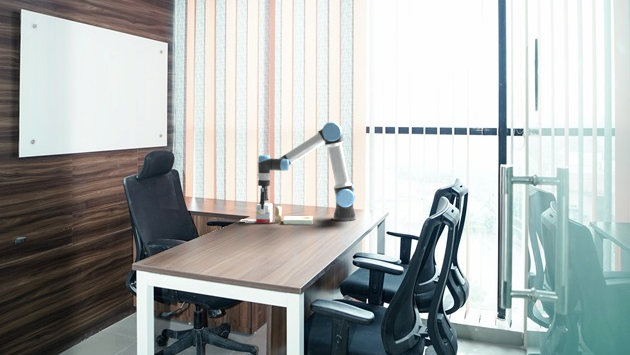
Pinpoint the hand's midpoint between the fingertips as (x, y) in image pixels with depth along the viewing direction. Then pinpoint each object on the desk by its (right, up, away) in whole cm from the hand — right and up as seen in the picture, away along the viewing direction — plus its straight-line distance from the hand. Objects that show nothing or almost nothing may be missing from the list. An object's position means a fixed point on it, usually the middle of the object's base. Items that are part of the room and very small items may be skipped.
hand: (263, 212), depth 311 cm
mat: (-11, -6, +2) cm, 12 cm away
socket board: (+22, -6, -2) cm, 23 cm away
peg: (+9, -6, -2) cm, 11 cm away
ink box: (0, -6, +1) cm, 6 cm away
